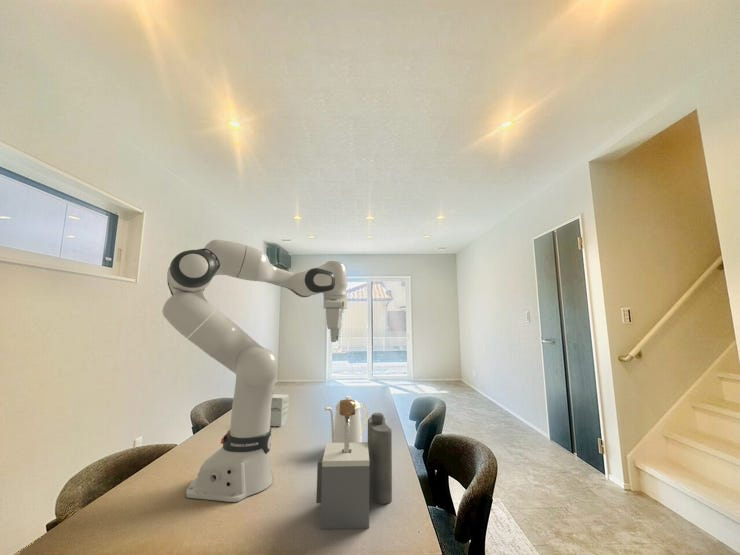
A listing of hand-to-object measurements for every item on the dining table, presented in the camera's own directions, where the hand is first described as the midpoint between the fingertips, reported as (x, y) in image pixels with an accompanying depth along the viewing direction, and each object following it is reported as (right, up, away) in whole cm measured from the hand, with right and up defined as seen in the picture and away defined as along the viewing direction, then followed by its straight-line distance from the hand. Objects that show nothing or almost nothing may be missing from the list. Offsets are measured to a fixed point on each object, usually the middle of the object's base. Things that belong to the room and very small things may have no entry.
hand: (334, 341), depth 112 cm
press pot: (+7, -34, -39) cm, 52 cm away
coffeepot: (+4, -40, -1) cm, 40 cm away
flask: (+15, -36, -28) cm, 48 cm away
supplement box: (-30, -44, +27) cm, 60 cm away
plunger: (+7, -32, -39) cm, 51 cm away
